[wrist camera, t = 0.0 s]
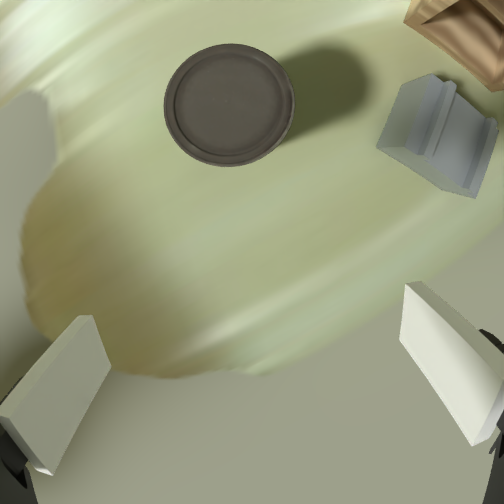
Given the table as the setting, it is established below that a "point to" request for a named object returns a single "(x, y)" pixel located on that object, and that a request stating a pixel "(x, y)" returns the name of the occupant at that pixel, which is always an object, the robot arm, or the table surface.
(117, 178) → the table surface
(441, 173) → the grey cradle
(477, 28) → the oak stand
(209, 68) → the coffee can
